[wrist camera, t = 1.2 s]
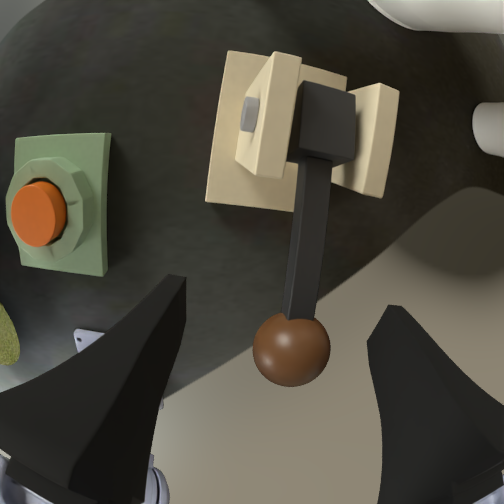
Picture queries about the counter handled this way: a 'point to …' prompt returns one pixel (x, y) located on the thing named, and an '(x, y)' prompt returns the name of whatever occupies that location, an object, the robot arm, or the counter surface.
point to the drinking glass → (489, 127)
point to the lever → (307, 235)
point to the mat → (8, 339)
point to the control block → (67, 198)
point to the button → (38, 213)
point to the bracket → (288, 132)
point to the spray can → (445, 14)
